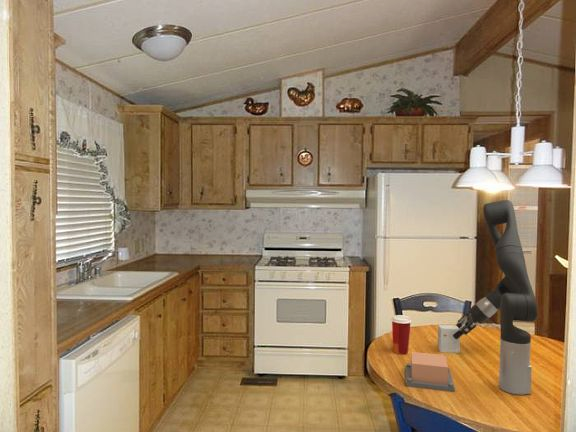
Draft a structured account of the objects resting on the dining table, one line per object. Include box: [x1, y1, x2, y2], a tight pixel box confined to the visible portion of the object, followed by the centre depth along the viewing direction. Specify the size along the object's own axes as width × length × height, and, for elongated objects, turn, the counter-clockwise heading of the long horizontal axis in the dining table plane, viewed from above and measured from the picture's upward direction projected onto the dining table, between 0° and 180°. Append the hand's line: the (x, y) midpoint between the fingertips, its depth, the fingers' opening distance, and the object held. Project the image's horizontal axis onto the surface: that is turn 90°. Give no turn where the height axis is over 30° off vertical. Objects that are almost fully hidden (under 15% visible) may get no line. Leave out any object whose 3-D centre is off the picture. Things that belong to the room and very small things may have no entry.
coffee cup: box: [390, 314, 412, 356], centre depth 185 cm, size 8×8×15 cm
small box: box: [437, 324, 461, 354], centre depth 188 cm, size 8×6×10 cm
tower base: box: [404, 351, 456, 393], centre depth 158 cm, size 16×16×8 cm
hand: (453, 334), depth 188 cm, fingers open, 8 cm apart
